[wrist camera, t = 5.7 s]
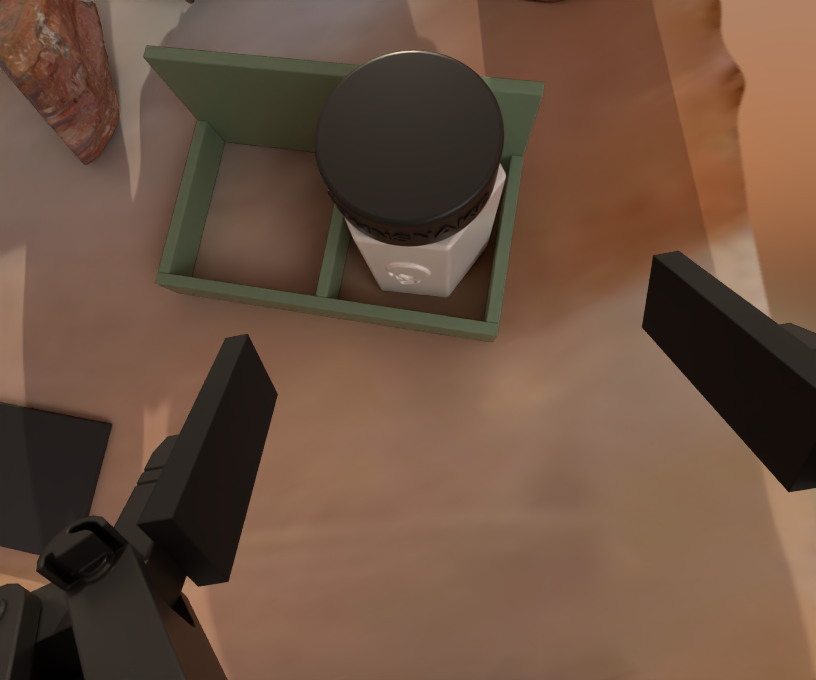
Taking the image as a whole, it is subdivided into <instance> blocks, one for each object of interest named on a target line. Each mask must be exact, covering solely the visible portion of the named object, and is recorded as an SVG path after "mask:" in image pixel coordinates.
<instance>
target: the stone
mask: <svg viewBox="0 0 816 680" xmlns="http://www.w3.org/2000/svg"><path fill="white" fill-rule="evenodd" d="M108 66H109V63H108V56H107V53H106V50H105V46H104V40H103V33H102V27H101V22H100V19H99V15H98V11H97V7H96V5H95V3H93V2H89V3H85V2H82V1H79V0H0V67H1V68H2V69H3V71H4V72H5V73H6V74H7V75H8V77H9V78H10V79H11V80H12V81H13V83H14V84H15V85H16V86H17V87H18V88H19V90H20V91H21V92H22V93H23V94H24V95H25V97H26V98H27V99H28V100H29V101H30V102H31V104H32V105H33V106H34V107H35V108H36V109H37V111H38V112H39V113H40V114H41V115H42V117H43V118H44V119H45V120H46V121H47V122H48V123H49V124H50V126H51V127H52V128H53V129H54V130H55V131H56V133H57V134H58V135H59V136H60V137H61V139H62V140H63V141H64V142H65V143H66V144H67V145H68V147H69V148H70V149H71V150H72V151H73V152H74V153H75V155H76V156H77V157H78V158H79V159H80V161H81V162H82V163H83V164H84V165H87V164H89V163H91V162H92V161H94V160H95V159H96V158H97V157H98V156H99V155H100V154H101V152H102V150H103V149H104V147H105V145H106V144H107V142H108V141H109V139H110V138H111V137H112V134H113V132H114V130H115V127H116V125H117V123H118V118H119V106H118V103H117V98H116V93H115V90H114V88H113V82H112V78H111V74H110V72H109V69H108Z"/></svg>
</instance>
